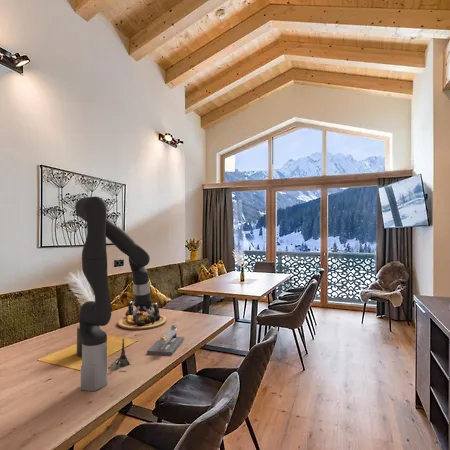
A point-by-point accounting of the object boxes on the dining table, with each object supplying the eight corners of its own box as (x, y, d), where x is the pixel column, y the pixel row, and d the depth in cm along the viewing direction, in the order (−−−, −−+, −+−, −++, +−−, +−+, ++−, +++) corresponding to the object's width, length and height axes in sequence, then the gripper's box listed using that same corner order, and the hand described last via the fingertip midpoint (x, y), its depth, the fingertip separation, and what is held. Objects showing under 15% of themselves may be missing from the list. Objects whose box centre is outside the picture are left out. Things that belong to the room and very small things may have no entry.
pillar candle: (89, 357, 151) (90, 326, 151) (72, 356, 153) (72, 325, 153) (101, 350, 160) (101, 321, 161) (84, 348, 162) (85, 320, 163)
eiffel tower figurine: (118, 358, 151) (118, 331, 151) (138, 359, 151) (138, 331, 151) (104, 372, 136) (104, 342, 136) (126, 373, 136) (126, 342, 136)
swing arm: (165, 351, 155) (165, 338, 155) (157, 350, 155) (157, 337, 155) (178, 336, 176) (178, 325, 176) (171, 336, 176) (171, 324, 176)
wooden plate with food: (109, 322, 209) (109, 310, 209) (151, 313, 231) (151, 302, 231) (130, 335, 186) (130, 321, 186) (175, 324, 207) (175, 311, 207)
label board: (172, 355, 154) (172, 351, 154) (147, 353, 155) (147, 350, 155) (184, 339, 175) (184, 336, 175) (162, 338, 177) (162, 335, 177)
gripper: (123, 293, 142) (127, 325, 146) (153, 295, 140) (156, 327, 143) (131, 287, 149) (134, 317, 153) (159, 288, 147) (161, 319, 151)
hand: (144, 322), depth 148 cm, fingers open, 8 cm apart
